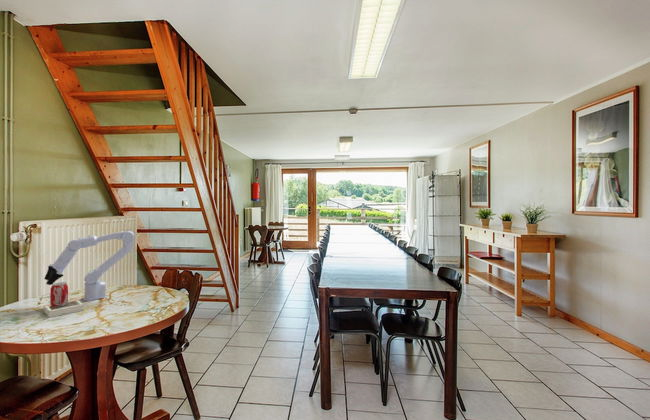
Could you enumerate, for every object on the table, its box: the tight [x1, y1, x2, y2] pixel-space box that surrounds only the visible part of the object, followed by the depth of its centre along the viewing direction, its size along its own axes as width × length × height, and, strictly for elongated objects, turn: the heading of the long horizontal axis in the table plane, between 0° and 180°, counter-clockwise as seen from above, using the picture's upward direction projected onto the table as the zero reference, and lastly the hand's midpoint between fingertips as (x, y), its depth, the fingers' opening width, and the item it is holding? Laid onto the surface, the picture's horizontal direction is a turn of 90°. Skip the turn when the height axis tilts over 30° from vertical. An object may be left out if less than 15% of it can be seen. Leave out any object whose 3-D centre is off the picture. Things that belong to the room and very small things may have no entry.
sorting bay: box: [44, 299, 85, 318], centre depth 149 cm, size 13×12×3 cm
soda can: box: [49, 281, 69, 309], centre depth 157 cm, size 7×7×12 cm
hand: (47, 282), depth 160 cm, fingers open, 7 cm apart
